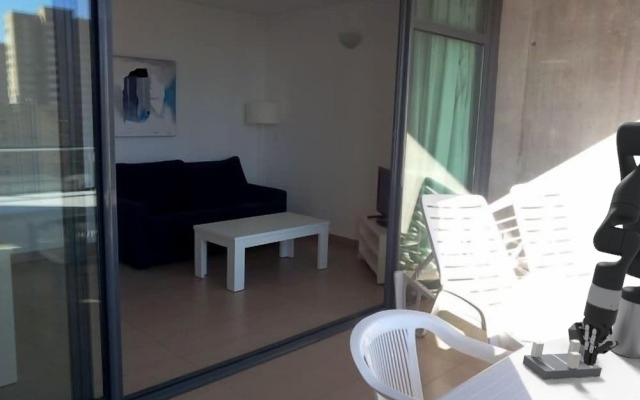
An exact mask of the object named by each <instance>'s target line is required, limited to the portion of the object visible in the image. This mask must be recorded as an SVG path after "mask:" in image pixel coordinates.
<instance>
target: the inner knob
mask: <svg viewBox="0 0 640 400" xmlns="http://www.w3.org/2000/svg"><path fill="white" fill-rule="evenodd" d="M580 345H581V344H580V341H578V340H575V339H574V340H570V342H569V345H568V350H567V353H570V352H578V353H579V350H580Z"/></svg>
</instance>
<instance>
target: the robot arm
mask: <svg viewBox="0 0 640 400" xmlns="http://www.w3.org/2000/svg"><path fill="white" fill-rule="evenodd" d="M615 136H616V137H615V142H616V153H617V159H618V168H619V175H620V182H619V183H618V184H617V185H616V187H615V188H614V190H613V194H612V196H611V197H612V198H611V201H610V204H609V209H608V212H607V213H606V215H605V217H604V219H603V221H602V222H601V224H600V225H599V227H598V228H597V229H596V231H595V233H594V235H593V237H592V244H593V248H594V249H596V251H598V252H599V253H600V252H601V253H604V254H608V255H612V256H617V257H620V258H619V259H618V260H616V261H599V262H597V263H596V265H595V268H594V270H593V271H594V272H593V276H592V280H591V284H590V286H589V288H588V292H587V296H586V297H587V298H586V302H585V305H584V309H583V310H584V311H583V317H584V318H583V319H582V321H580V322H577V321H576V322H574V323H575V327H576V330H577V334H578V337H579V341H580V344H581V345H583V346H584V348H585V353H584V357H583V360H584V363H585V364H586V365H588V366H593V365H595V364H596V362H597V359H598V355H601V354H602V355H605V354H607V353H608V352H610V351H612V352H613V353H615V354H617V355H619V356H623V357H626V358H630V359H631V358H632V359H639V357H640V285H639V286H635V285H633V286H632V285H630V286H629V285H628V286H624V284H625V283H624V282H625V278H626V275H627V276H630V277H633V278H635V279H639V280H640V163H639V164H638V165H637V163H636V160H635V157H640V121H625V122H622V123H620V125H618V127H617V130H616V135H615ZM617 226H622V227H617ZM583 336H584V338H583Z"/></svg>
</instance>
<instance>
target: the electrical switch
mask: <svg viewBox="0 0 640 400" xmlns="http://www.w3.org/2000/svg"><path fill="white" fill-rule="evenodd" d="M575 323H576V322H574V323H573V324H572V325H571V326H570V327H569V328H568V329H567V330H568V333H567V334H568V341H569V343H570V340H578V341H579V337H578V334H577V330H576V327H575ZM583 338H584V336H583ZM584 353H585V348H584V346H583V345H580V350H579V354H581V355H582V356H584Z"/></svg>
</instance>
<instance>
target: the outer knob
mask: <svg viewBox="0 0 640 400" xmlns="http://www.w3.org/2000/svg"><path fill="white" fill-rule="evenodd" d="M544 347H545V343H544V342H542V341H541V340H533V342H532V346H531V350H530V355H532V356H534V357H542V354H543V351H544Z"/></svg>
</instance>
